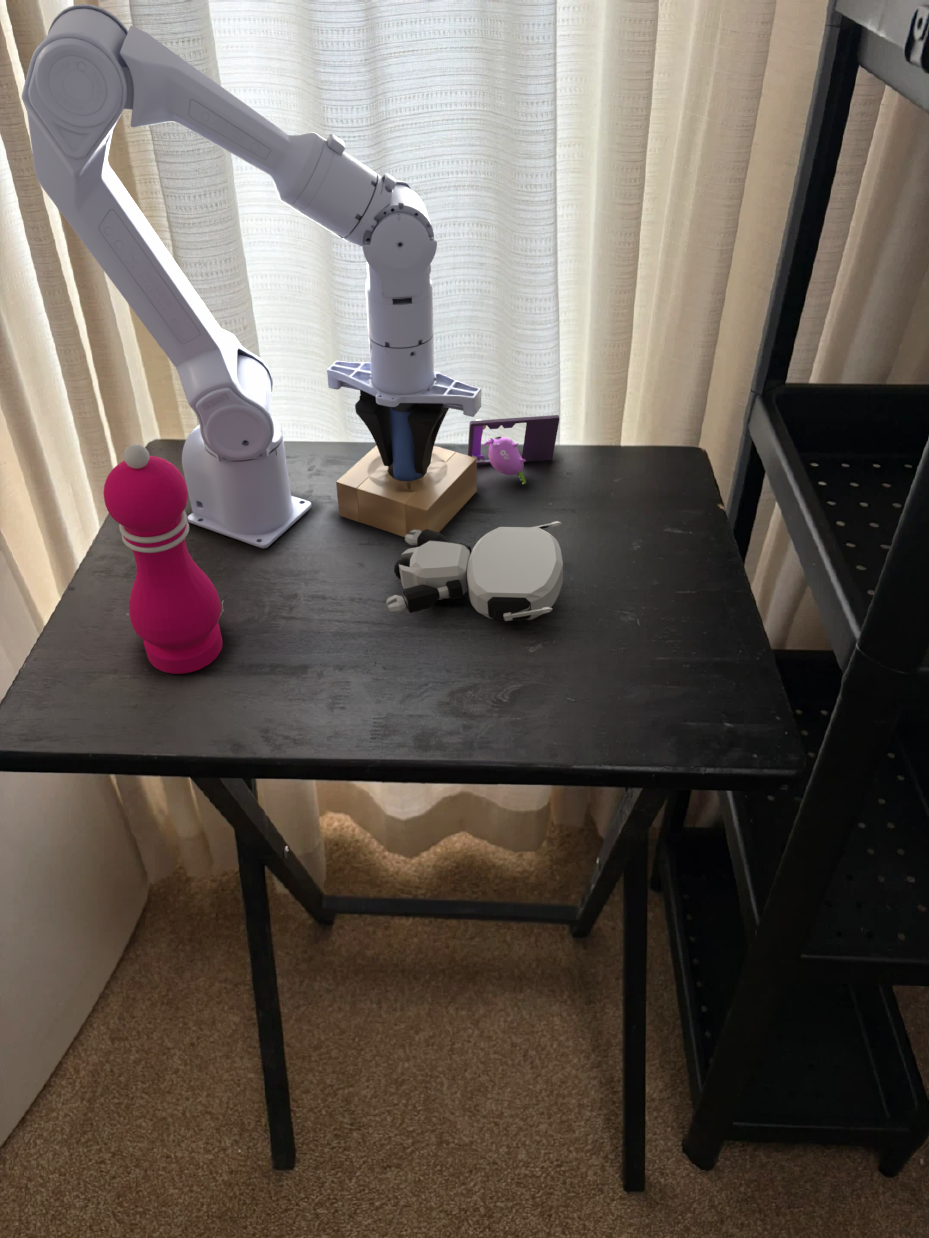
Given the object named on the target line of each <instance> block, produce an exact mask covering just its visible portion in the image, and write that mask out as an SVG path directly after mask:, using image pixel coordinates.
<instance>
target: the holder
mask: <svg viewBox="0 0 929 1238" xmlns="http://www.w3.org/2000/svg"><path fill="white" fill-rule="evenodd" d="M477 461H478V459H477V457H476V456H472V457H471V456H468V454H465V453H464V454H463V453H461V452H457V451H454V450H451V449H447V448H444V447H441V446H436V445H434V447H433V452H432V457H431V464H430V465H429V467H428V468H427V469H426V471H425V472H424V473H423V474H422V478H419V479H417V480H413V481H399V480H396V479H394V476H393V463H392V465H391V466H390V467H388V466H384V464H383V461H382V458H381V456H380V453H379V450H378V448H377V445H376V444H375V446H374V447H372V449H370V451H368V452H367V453H366V454H365V455H364V456H363V457H362V458H361V459H359V460H358V461H357V462H356V463H355V464H354V465H353V466H352V467H351V468H350V469H349V470H347V471H346V472H345V473H344V474H343V475H342V476H341V477H339V479H337V480H336V482H335V485H336V486H335V487H336V494H337V505H338V514H339V517H342V518H346V519H348V520H351V521H354V522H358V523H361V524H364V525H367V526H370V527H373V528H376V529H378V530H382V531H384V532H388V533H391V534H394V535H397V536H400V537H403V538H405V536H406V535H407V534H409V532H410V531H412V530H413V529H415V530H420V531H421V532H422V531H423V530H425V529H428V530H432V531H435V532H438V533H441V531H442V530H443V529H444V528H445V527H446V526H447V525H448V523H449V522H450V521H451V520H452V519H453V518H454V517H455V516H456V514H457V513H458V512H459V511H460V510H461V509H463V507H464V506H465V505H466V504H467V502H469V501H470V500H471V499H472V497H473V496H474V495H475V494H476V493H477V491H478V489H477V488H478V487H477V486H478V484H477V483H478V481H477V480H478V476H477V474H478V473H477V472H478V470H477V469H478V465H477Z"/></svg>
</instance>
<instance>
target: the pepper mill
mask: <svg viewBox="0 0 929 1238" xmlns="http://www.w3.org/2000/svg"><path fill="white" fill-rule="evenodd" d="M103 500H104V504H105V508H106V510H107V512H108V515H109V516H110V517H111V518H112V519H113V520H114V521H115V522H116V523H118V529H119V532H120V534H121V541H122V542H123V544H124V545H125V546H126V547H127V548H128V549H130V550H131V551H132V553H133V555H134V560H135V565H136V573H135V579H134V582H133V584H132V587H131V590H130V594H129V595H130V596H129V601H128V603H129V604H128V612H129V619H130V623H131V626H132V629H133V630H134V632H135V633H136V635H137V636H139V638H140V639H142V640H143V646H144V649H145V652H146V653H145V654H146V655H147V656H146V657H147V659H148V662H149V663H150V664H151V665H152V666H153V667H154V668H155V669H157V670H159V671H161V672H163V673H167V674H171V675H175V674H177V675H183V674H190V673H193V672H197V671H199V670H202V669H203V668H205V667H207V666H209V665H211V664H212V662H214V661H215V660H216V659H217V658H218V656H219V655H220V653H221V651H222V650H223V644H224V643H223V642H224V641H223V636H222V632H221V627H220V624H219V620H220V617H221V614H222V603H221V599H220V597H219V593H218V590H217V589H216V587H215V585H214V584H213V582H212V580H211V579H210V578H209V576H208V575H207V574H206V573H205V572H204V571H203V569H201V568H200V567H199V565H198V564H197V562H195V560H194V559H193V557H192V556H191V554H190V552H189V550H188V547H187V543H186V537H187V536H188V535H189V532H190V524H189V522H188V519H187V517H188V515H187V512H186V511H185V509H186V507H187V504H188V501H189V494H188V490H187V485H186V480H185V476H184V475H183V474H182V472H181V471H180V470H179V469H178V467H177V466H176V465H174V464H173V463H172V462H170V461H169V460H167V459H165V458H162V457H159V456H156V455H150V452H149V451H148V449H147V448H146V446H144V445H142V444H139V443H133V444H130V445H129V446H127V447H126V448H125V450H124V451H123V461H121V462H119V463H118V464H116V465H115V466H114V467H113V468H112V469H111V471H110V472H109V473H108V474H107V477H106V479H105V482H104V485H103Z"/></svg>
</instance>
